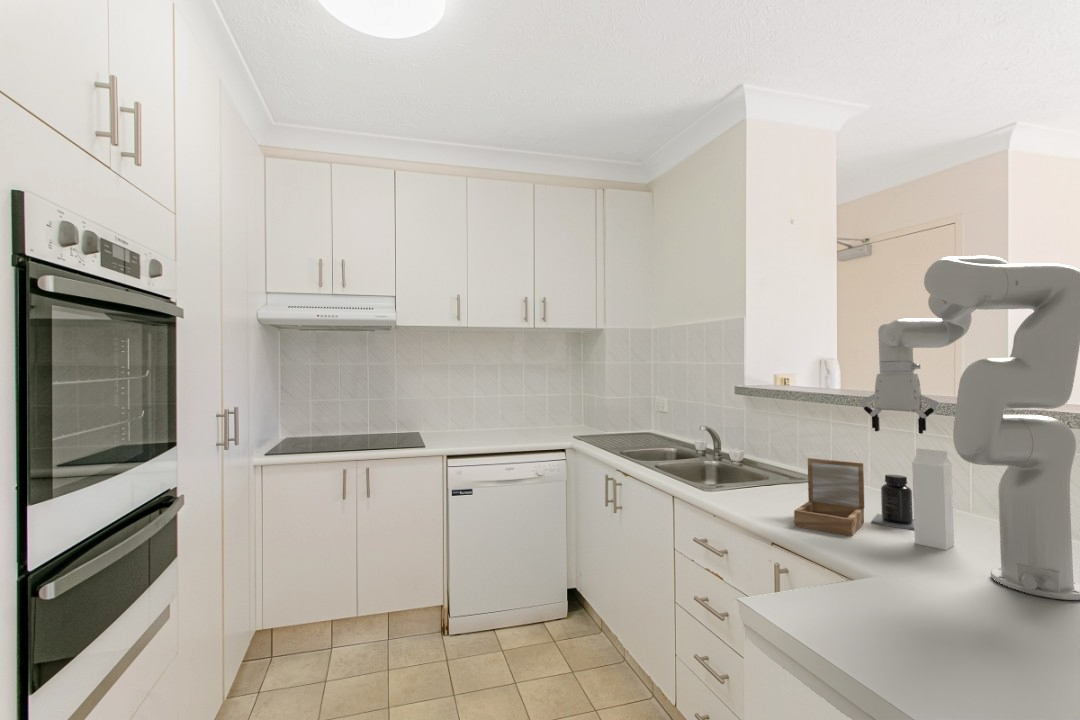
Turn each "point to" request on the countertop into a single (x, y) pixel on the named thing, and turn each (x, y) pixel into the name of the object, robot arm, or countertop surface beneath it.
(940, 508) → the milk
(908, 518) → the supplement bottle
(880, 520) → the slate tile
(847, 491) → the box
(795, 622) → the countertop surface
